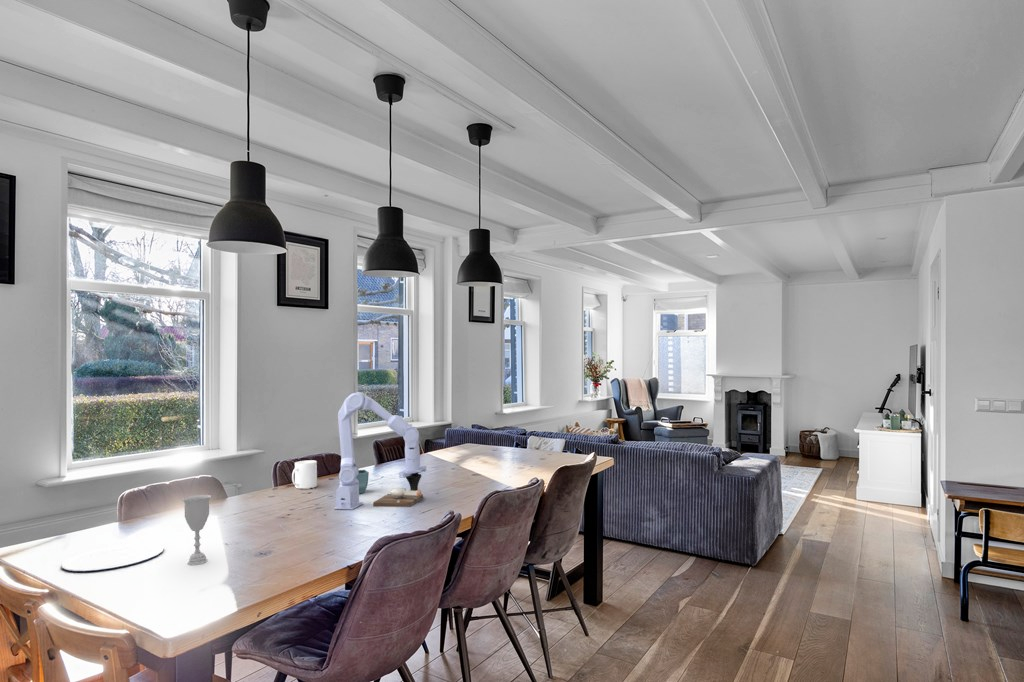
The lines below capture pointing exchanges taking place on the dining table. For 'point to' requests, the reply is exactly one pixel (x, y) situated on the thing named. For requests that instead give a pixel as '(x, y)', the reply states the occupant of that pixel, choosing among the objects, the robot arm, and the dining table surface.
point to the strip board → (397, 500)
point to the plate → (155, 551)
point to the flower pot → (362, 480)
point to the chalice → (197, 522)
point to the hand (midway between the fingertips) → (414, 493)
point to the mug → (305, 474)
